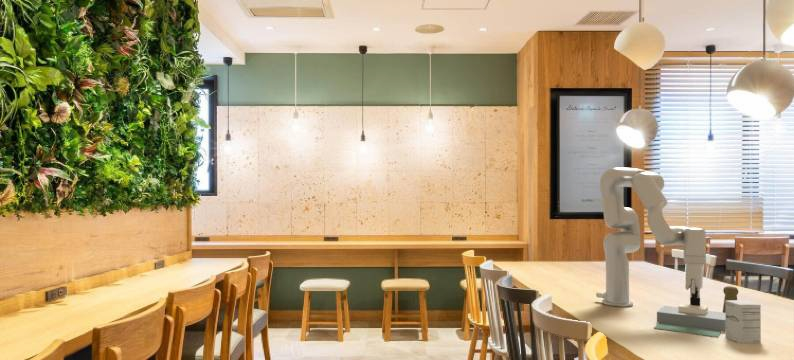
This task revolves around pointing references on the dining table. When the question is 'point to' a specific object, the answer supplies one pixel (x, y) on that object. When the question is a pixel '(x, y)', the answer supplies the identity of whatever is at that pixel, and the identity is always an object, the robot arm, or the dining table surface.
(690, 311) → the card
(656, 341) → the dining table surface
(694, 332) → the mat
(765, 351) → the dining table surface
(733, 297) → the cork
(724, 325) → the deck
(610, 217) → the robot arm
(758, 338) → the supplement box
